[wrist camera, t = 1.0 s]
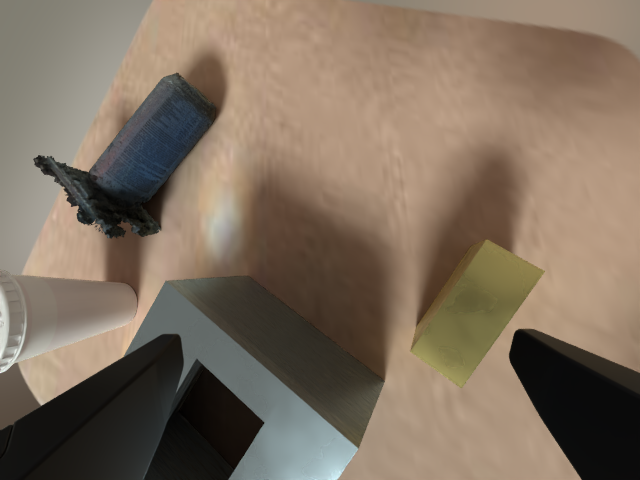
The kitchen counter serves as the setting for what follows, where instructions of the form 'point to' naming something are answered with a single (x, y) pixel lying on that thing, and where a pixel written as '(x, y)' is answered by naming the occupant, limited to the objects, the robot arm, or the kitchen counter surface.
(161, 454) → the box
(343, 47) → the kitchen counter surface
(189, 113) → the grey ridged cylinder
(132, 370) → the robot arm
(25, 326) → the smoothie
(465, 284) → the block
